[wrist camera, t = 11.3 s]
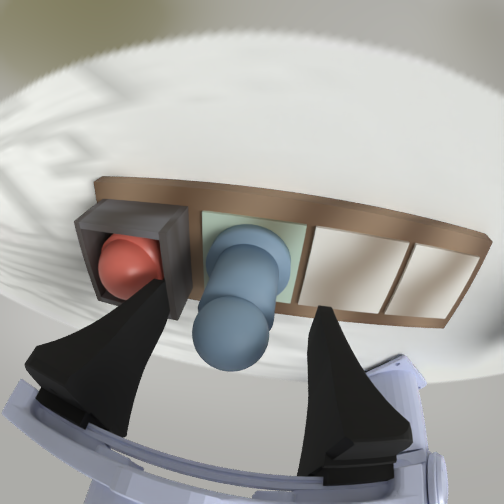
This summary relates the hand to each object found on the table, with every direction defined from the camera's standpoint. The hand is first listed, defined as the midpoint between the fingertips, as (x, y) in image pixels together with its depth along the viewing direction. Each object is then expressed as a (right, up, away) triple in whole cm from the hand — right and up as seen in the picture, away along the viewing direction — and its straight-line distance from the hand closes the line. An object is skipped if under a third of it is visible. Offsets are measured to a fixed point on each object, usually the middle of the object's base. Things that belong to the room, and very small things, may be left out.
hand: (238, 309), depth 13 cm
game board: (+3, +2, +4) cm, 6 cm away
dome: (-6, +3, +3) cm, 7 cm away
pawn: (0, +2, +3) cm, 4 cm away
